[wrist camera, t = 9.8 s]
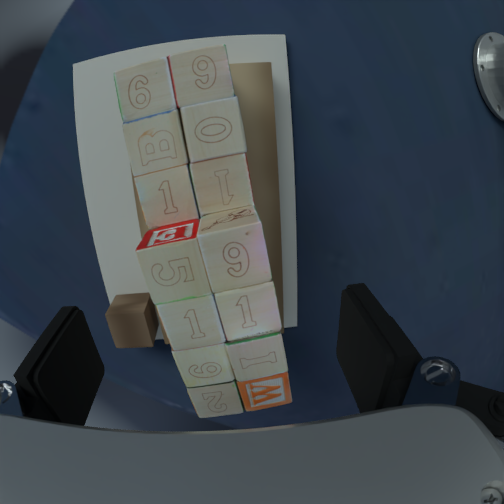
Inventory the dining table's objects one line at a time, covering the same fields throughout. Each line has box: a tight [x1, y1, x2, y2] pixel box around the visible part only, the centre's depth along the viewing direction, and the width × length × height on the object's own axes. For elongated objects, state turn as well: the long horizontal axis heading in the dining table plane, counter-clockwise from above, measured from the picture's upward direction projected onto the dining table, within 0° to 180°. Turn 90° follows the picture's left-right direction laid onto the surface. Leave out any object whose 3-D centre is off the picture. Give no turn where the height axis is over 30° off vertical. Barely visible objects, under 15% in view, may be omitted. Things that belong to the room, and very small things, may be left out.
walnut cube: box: [105, 292, 159, 348], centre depth 30 cm, size 4×4×4 cm
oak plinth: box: [130, 62, 284, 344], centre depth 28 cm, size 12×25×3 cm, turn 4°
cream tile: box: [73, 35, 297, 340], centre depth 29 cm, size 20×30×1 cm, turn 4°
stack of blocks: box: [114, 44, 292, 418], centre depth 20 cm, size 21×6×12 cm, turn 10°
